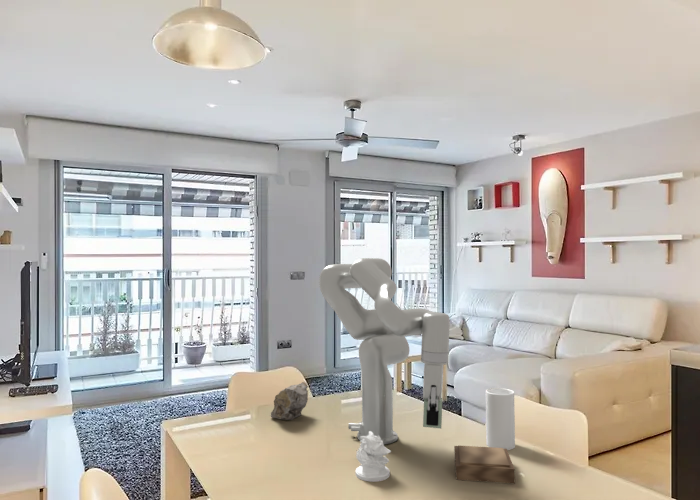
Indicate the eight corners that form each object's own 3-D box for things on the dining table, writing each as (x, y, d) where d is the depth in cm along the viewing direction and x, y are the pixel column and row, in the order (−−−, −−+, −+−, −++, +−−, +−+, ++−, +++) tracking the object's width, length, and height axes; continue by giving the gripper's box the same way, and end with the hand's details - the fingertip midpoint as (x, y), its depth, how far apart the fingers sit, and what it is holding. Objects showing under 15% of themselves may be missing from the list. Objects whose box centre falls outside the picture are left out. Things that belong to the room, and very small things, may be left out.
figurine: (387, 485, 122) (387, 442, 122) (350, 482, 124) (350, 439, 124) (394, 466, 133) (394, 427, 134) (360, 463, 136) (360, 424, 136)
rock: (284, 405, 188) (300, 371, 185) (304, 419, 184) (321, 385, 182) (259, 418, 172) (276, 381, 170) (281, 434, 169) (299, 397, 166)
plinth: (456, 479, 125) (456, 463, 125) (454, 458, 139) (454, 443, 139) (514, 483, 123) (514, 467, 123) (506, 461, 137) (506, 446, 137)
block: (422, 426, 138) (423, 401, 138) (423, 420, 143) (424, 396, 143) (441, 428, 137) (442, 403, 137) (441, 422, 142) (442, 397, 142)
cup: (516, 451, 145) (515, 395, 145) (487, 449, 146) (486, 393, 147) (513, 441, 153) (512, 388, 153) (485, 439, 154) (484, 387, 155)
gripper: (421, 349, 149) (419, 410, 149) (420, 362, 132) (417, 431, 132) (447, 351, 148) (445, 412, 148) (449, 364, 131) (446, 433, 131)
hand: (432, 420), depth 140 cm, fingers closed on block, 5 cm apart
